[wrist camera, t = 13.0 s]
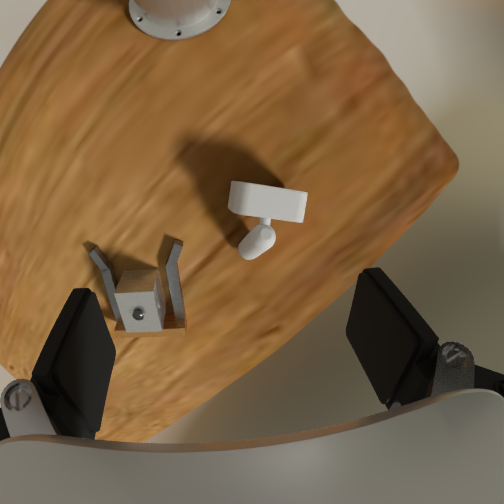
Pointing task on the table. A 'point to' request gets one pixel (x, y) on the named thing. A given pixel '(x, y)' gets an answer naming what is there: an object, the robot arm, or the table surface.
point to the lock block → (141, 300)
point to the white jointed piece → (264, 212)
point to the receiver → (177, 321)
